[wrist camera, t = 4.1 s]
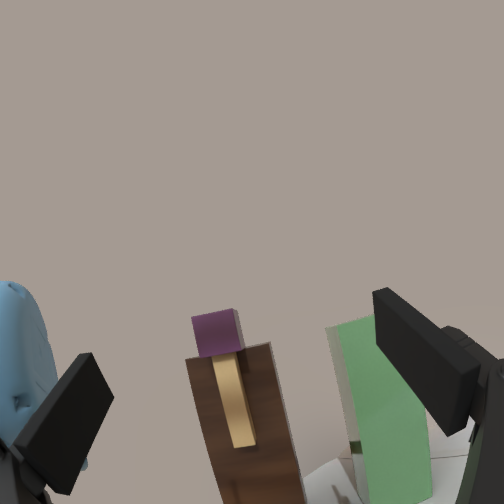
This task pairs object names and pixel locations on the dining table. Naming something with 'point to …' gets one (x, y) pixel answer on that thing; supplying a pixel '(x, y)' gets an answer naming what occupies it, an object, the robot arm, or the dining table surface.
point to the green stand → (380, 418)
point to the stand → (266, 428)
